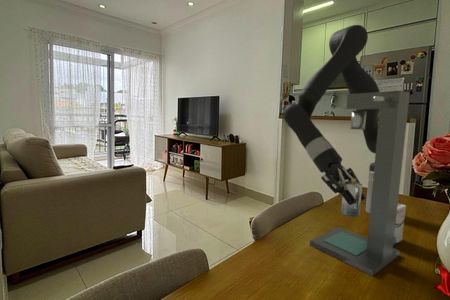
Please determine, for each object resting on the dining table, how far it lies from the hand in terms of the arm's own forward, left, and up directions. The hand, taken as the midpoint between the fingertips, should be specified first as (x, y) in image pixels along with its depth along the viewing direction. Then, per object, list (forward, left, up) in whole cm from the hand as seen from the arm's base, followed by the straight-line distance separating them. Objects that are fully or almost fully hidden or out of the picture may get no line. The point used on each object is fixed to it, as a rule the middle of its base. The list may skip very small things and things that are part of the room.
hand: (357, 201), depth 70 cm
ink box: (-15, +3, -15) cm, 22 cm away
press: (+1, 0, -15) cm, 15 cm away
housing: (0, -2, -4) cm, 5 cm away
